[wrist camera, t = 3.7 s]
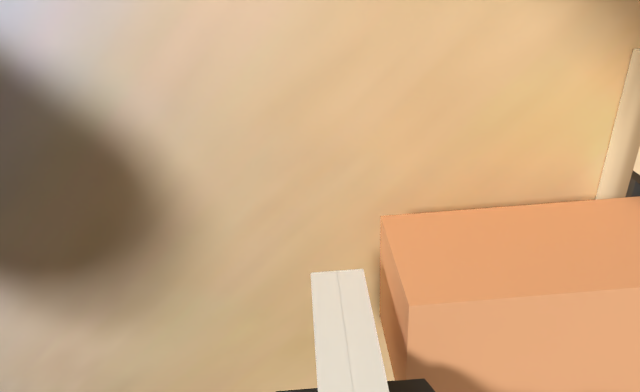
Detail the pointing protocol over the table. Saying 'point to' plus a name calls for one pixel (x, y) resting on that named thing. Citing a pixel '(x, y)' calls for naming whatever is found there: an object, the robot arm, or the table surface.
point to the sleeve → (624, 141)
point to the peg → (515, 297)
